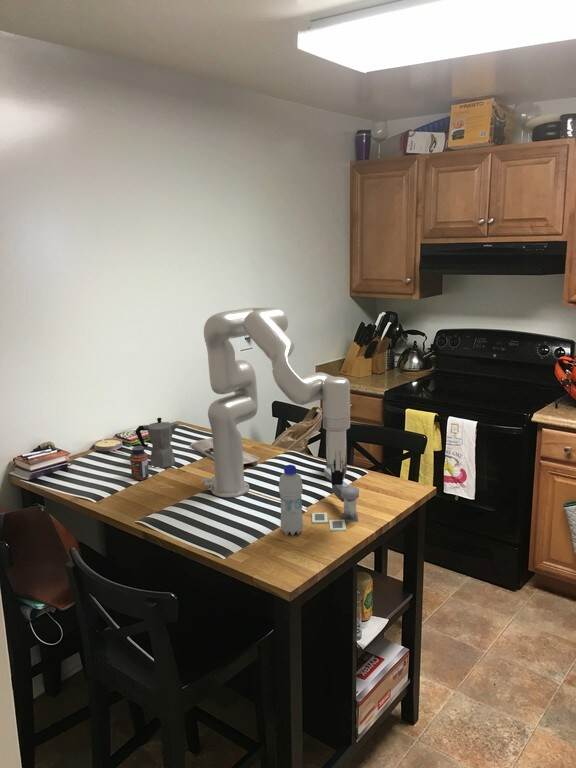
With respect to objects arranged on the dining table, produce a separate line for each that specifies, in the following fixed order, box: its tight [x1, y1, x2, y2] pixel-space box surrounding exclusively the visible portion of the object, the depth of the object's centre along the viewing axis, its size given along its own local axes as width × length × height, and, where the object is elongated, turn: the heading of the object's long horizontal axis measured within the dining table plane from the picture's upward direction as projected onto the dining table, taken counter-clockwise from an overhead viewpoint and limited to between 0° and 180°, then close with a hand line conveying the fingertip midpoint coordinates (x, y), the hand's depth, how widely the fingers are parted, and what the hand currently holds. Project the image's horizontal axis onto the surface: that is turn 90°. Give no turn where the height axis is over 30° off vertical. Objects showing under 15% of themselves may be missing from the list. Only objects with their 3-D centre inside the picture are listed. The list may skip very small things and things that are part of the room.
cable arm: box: [323, 468, 360, 503], centre depth 189 cm, size 21×5×6 cm, turn 19°
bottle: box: [278, 464, 304, 536], centre depth 174 cm, size 7×7×20 cm
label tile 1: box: [311, 512, 329, 524], centre depth 184 cm, size 4×6×1 cm
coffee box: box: [325, 429, 348, 480], centre depth 215 cm, size 9×6×16 cm
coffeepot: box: [135, 417, 179, 469], centre depth 229 cm, size 15×9×18 cm, turn 103°
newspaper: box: [189, 438, 261, 466], centre depth 238 cm, size 35×12×4 cm, turn 36°
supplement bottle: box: [129, 445, 150, 481], centre depth 217 cm, size 6×6×11 cm
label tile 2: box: [328, 519, 347, 532], centre depth 179 cm, size 4×6×1 cm
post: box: [341, 499, 359, 522], centre depth 183 cm, size 4×4×7 cm
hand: (337, 483), depth 176 cm, fingers closed
